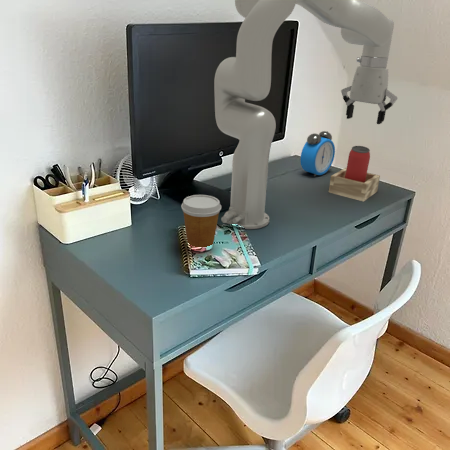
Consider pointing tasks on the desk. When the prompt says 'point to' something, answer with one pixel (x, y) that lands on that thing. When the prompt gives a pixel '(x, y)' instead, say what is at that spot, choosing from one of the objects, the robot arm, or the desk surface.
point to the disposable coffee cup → (200, 219)
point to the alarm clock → (318, 153)
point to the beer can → (358, 163)
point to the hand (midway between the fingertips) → (364, 120)
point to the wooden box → (353, 186)
